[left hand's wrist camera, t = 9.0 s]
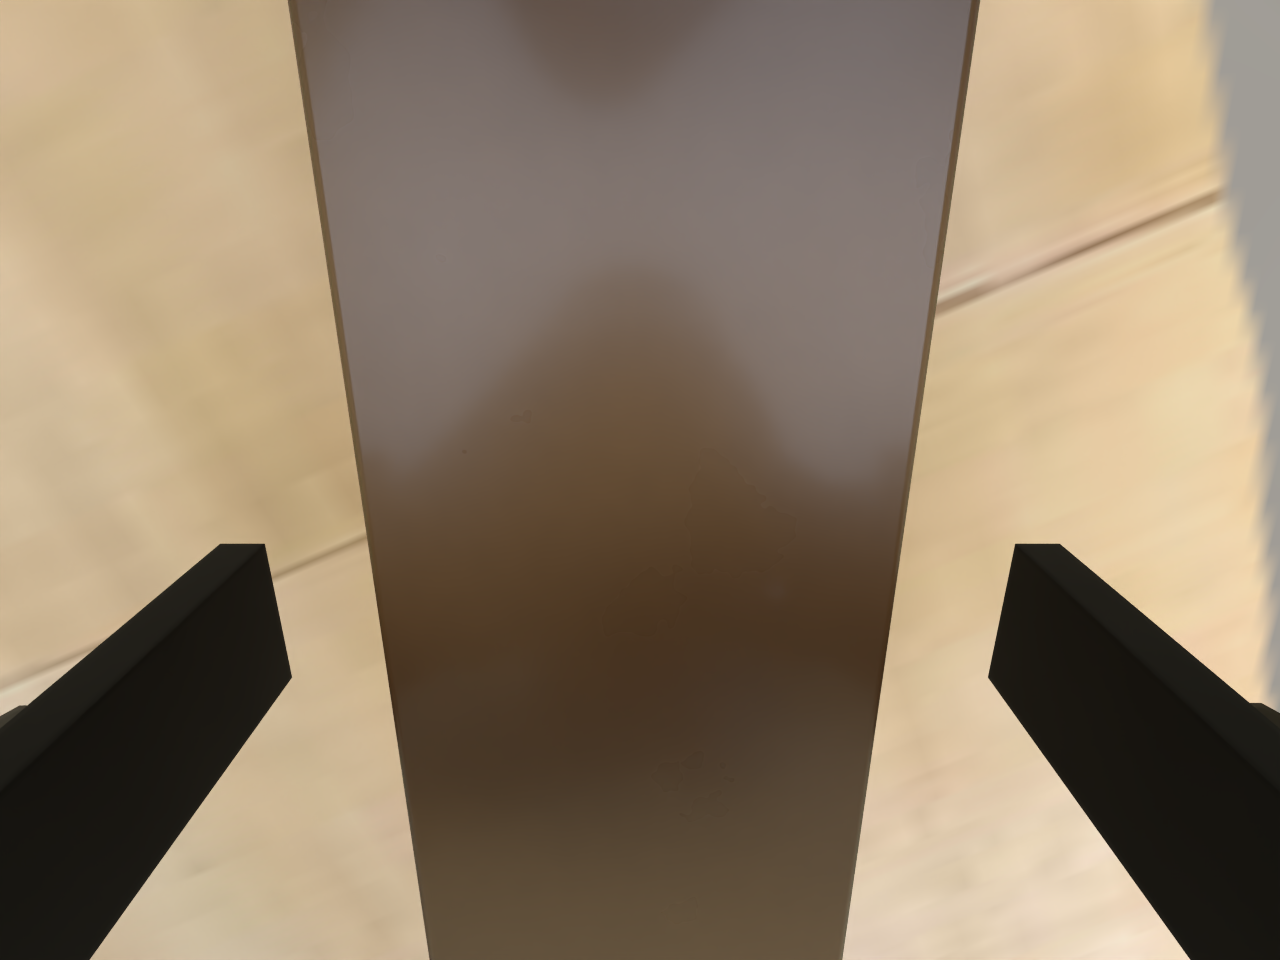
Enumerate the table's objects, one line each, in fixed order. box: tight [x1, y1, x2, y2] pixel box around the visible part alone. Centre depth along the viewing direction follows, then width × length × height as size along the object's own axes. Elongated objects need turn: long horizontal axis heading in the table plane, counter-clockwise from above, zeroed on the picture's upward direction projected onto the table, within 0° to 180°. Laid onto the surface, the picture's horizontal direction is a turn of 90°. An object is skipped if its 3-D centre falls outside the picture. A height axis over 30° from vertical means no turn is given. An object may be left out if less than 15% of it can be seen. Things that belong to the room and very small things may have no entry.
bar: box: [288, 0, 980, 960], centre depth 9 cm, size 24×5×8 cm, turn 0°
